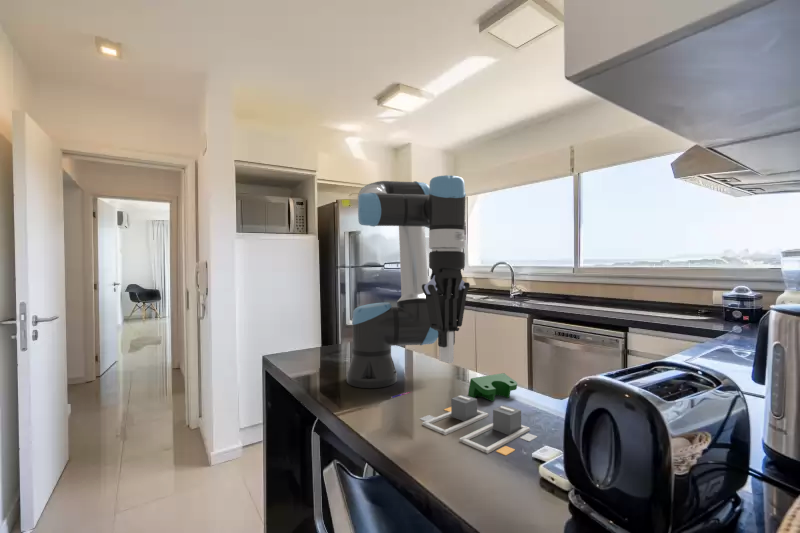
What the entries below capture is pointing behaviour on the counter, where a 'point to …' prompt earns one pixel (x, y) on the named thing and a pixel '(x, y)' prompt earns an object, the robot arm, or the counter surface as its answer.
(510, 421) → the grey cube
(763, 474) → the counter surface
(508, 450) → the switch board
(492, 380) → the green notched bracket
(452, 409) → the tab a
